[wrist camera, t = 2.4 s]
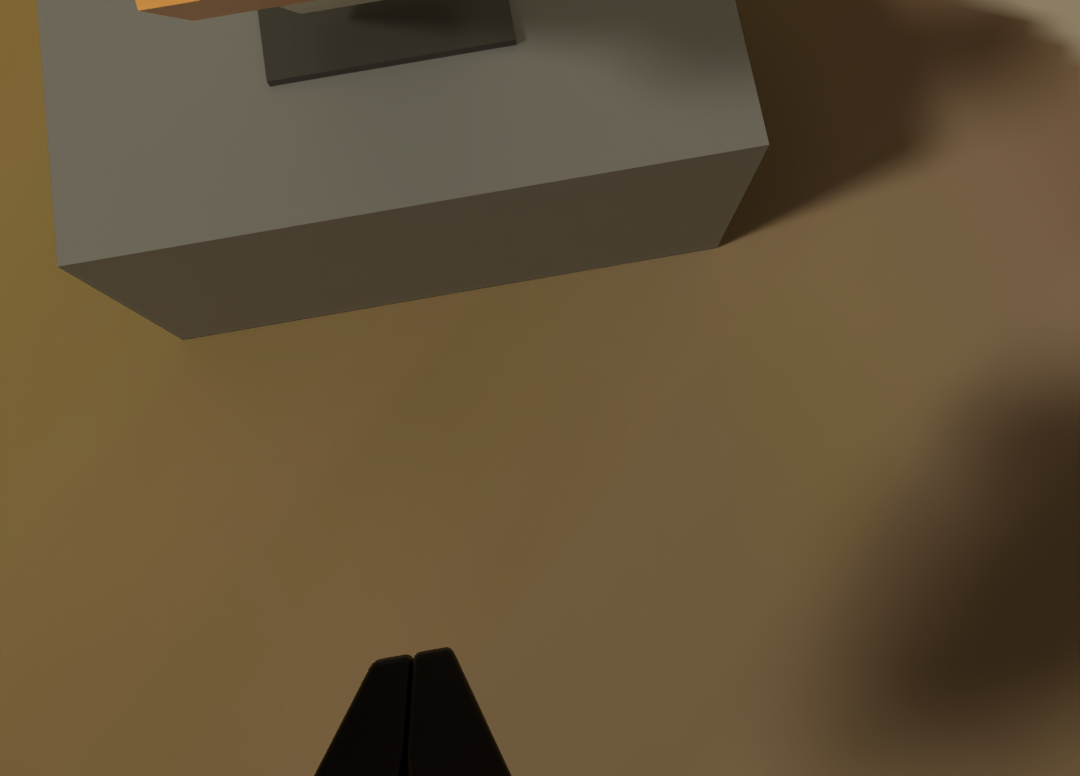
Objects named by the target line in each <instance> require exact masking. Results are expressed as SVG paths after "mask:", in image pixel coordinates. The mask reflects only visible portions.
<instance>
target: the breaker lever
mask: <svg viewBox="0 0 1080 776" xmlns="http://www.w3.org/2000/svg"><path fill="white" fill-rule="evenodd" d="M375 1H381V0H135V2H136V5H137V9H138V11H142V12H147V13H153V14H158V15H164V16H169V17H174V18H180V19H185V20H191V21H196V20H201V19H207V18H213V17H219V16H225V15H231V14H237V13H243V12H249V11H255V10H261V9H267V8H273V7H282V8H284V9H287V10H290V11H293V12H296V13H299V14H304V13H310V12H316V11H322V10H328V9H334V8H340V7H346V6H352V5H358V4H364V3H370V2H375Z"/></svg>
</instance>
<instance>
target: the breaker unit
mask: <svg viewBox="0 0 1080 776" xmlns="http://www.w3.org/2000/svg"><path fill="white" fill-rule="evenodd" d="M37 9H38V22H39V34H40V47H41V60H42V73H43V86H44V99H45V111H46V124H47V137H48V150H49V163H50V176H51V188H52V201H53V214H54V227H55V240H56V253H57V265H58V267H59V268H61V269H63V270H64V271H66V272H68V273H69V274H71V275H73V276H75V277H76V278H78V279H80V280H81V281H83V282H85V283H86V284H88V285H90V286H92V287H93V288H95V289H97V290H98V291H100V292H102V293H104V294H105V295H107V296H109V297H110V298H112V299H114V300H116V301H117V302H119V303H121V304H122V305H124V306H126V307H128V308H129V309H131V310H133V311H134V312H136V313H138V314H140V315H141V316H143V317H145V318H146V319H148V320H150V321H152V322H153V323H155V324H157V325H158V326H160V327H162V328H164V329H165V330H167V331H169V332H170V333H172V334H174V335H175V336H177V337H179V338H181V339H182V340H184V339H190V338H196V337H202V336H207V335H213V334H219V333H225V332H231V331H236V330H242V329H248V328H254V327H260V326H265V325H271V324H277V323H283V322H289V321H294V320H300V319H306V318H312V317H318V316H323V315H329V314H335V313H341V312H347V311H352V310H358V309H364V308H370V307H376V306H381V305H387V304H393V303H399V302H405V301H410V300H416V299H422V298H428V297H434V296H439V295H445V294H451V293H457V292H463V291H468V290H474V289H480V288H486V287H491V286H497V285H503V284H509V283H515V282H520V281H526V280H532V279H538V278H544V277H549V276H555V275H561V274H567V273H573V272H578V271H584V270H590V269H596V268H602V267H607V266H613V265H619V264H625V263H631V262H636V261H642V260H648V259H654V258H660V257H665V256H671V255H677V254H683V253H689V252H694V251H700V250H706V249H712V248H717V247H718V245H719V243H720V241H721V239H722V237H723V235H724V233H725V231H726V229H727V227H728V225H729V223H730V221H731V219H732V217H733V215H734V213H735V211H736V209H737V207H738V205H739V204H740V202H741V200H742V198H743V196H744V194H745V192H746V190H747V188H748V186H749V184H750V182H751V180H752V178H753V176H754V174H755V172H756V170H757V168H758V166H759V164H760V162H761V160H762V158H763V156H764V154H765V152H766V150H767V148H768V146H769V141H768V137H767V133H766V128H765V124H764V120H763V116H762V111H761V107H760V103H759V99H758V94H757V90H756V86H755V82H754V77H753V73H752V69H751V65H750V61H749V56H748V52H747V48H746V44H745V39H744V35H743V31H742V27H741V22H740V18H739V14H738V10H737V5H736V1H735V0H381V1H375V2H370V3H364V4H358V5H352V6H346V7H340V8H334V9H328V10H322V11H316V12H310V13H304V14H299V13H296V12H293V11H290V10H287V9H284V8H282V7H273V8H267V9H261V10H255V11H249V12H243V13H237V14H231V15H225V16H219V17H213V18H207V19H201V20H196V21H191V20H185V19H180V18H174V17H169V16H164V15H158V14H153V13H147V12H142V11H138V9H137V5H136V2H135V0H37Z"/></svg>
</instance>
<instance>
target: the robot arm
mask: <svg viewBox="0 0 1080 776" xmlns="http://www.w3.org/2000/svg"><path fill="white" fill-rule="evenodd" d="M314 776H511V774H510V772H509V769H508V767H507V765H506V763H505V761H504V759H503V757H502V754H501V752H500V750H499V748H498V746H497V744H496V742H495V739H494V737H493V735H492V733H491V731H490V729H489V726H488V724H487V722H486V720H485V718H484V716H483V714H482V711H481V709H480V707H479V705H478V703H477V701H476V698H475V696H474V694H473V692H472V690H471V688H470V686H469V683H468V681H467V679H466V677H465V675H464V673H463V671H462V668H461V666H460V664H459V662H458V660H457V658H456V656H455V654H454V652H453V650H452V649H451V648H448V647H444V648H439V649H433V650H428V651H422V652H419V653H417V654H416V655H415V656H414V658H413V657H412V656H410V655H400V656H394V657H389V658H383V659H379V660H376V661H375V662H374V663H373V664H372V665H371V667H370V668H369V670H368V672H367V674H366V676H365V678H364V680H363V682H362V684H361V686H360V688H359V690H358V692H357V693H356V695H355V697H354V699H353V701H352V703H351V705H350V707H349V709H348V711H347V713H346V715H345V717H344V719H343V721H342V723H341V725H340V726H339V728H338V730H337V732H336V734H335V736H334V738H333V740H332V742H331V744H330V746H329V748H328V750H327V752H326V754H325V756H324V758H323V759H322V761H321V763H320V765H319V767H318V769H317V771H316V773H315V775H314Z"/></svg>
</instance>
